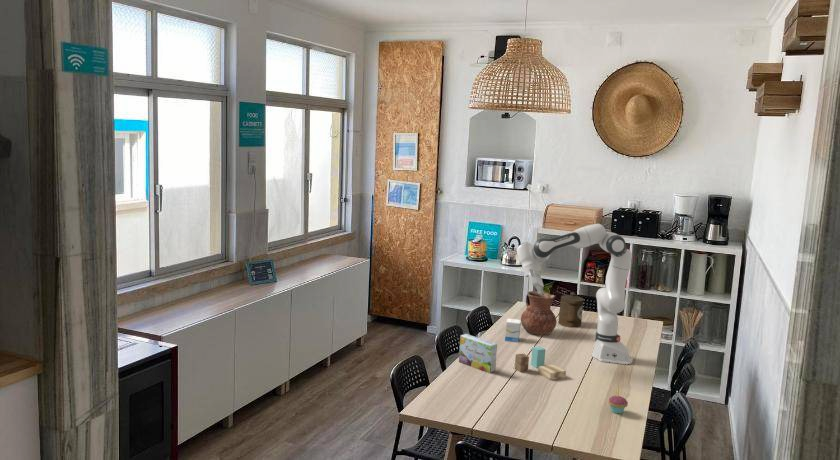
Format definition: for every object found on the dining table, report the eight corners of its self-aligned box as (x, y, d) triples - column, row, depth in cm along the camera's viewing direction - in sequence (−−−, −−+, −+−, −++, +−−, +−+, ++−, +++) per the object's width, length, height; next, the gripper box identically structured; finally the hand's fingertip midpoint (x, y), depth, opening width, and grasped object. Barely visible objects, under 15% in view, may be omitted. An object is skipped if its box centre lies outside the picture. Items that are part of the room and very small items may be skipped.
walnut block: (522, 367, 354) (523, 353, 353) (527, 371, 350) (529, 356, 349) (514, 368, 352) (515, 354, 351) (519, 372, 348) (521, 357, 347)
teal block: (538, 363, 362) (539, 346, 360) (543, 367, 358) (545, 349, 356) (530, 364, 360) (532, 347, 358) (536, 368, 355) (537, 350, 354)
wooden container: (583, 328, 435) (586, 295, 432) (560, 326, 435) (563, 294, 432) (578, 321, 450) (581, 290, 447) (556, 320, 450) (559, 288, 447)
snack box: (457, 362, 357) (459, 335, 355) (464, 360, 362) (466, 333, 359) (489, 373, 343) (491, 345, 341) (496, 371, 347) (498, 343, 345)
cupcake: (604, 407, 308) (607, 382, 306) (622, 407, 309) (625, 383, 307) (611, 415, 299) (614, 390, 298) (629, 415, 300) (632, 390, 298)
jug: (560, 332, 423) (563, 294, 419) (547, 340, 405) (551, 300, 402) (528, 325, 435) (531, 288, 431) (514, 332, 417) (517, 293, 413)
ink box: (518, 342, 398) (520, 323, 396) (504, 340, 400) (506, 321, 398) (519, 338, 406) (521, 319, 405) (505, 336, 408) (507, 318, 406)
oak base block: (553, 371, 352) (553, 364, 352) (565, 378, 344) (566, 370, 343) (537, 373, 348) (538, 366, 347) (549, 380, 339) (550, 373, 338)
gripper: (534, 266, 355) (544, 290, 351) (540, 271, 374) (549, 294, 370) (523, 270, 356) (533, 294, 352) (529, 275, 375) (539, 298, 371)
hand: (541, 294), depth 361 cm, fingers open, 8 cm apart
